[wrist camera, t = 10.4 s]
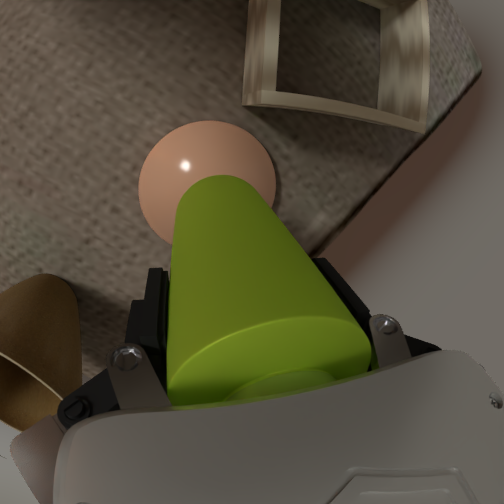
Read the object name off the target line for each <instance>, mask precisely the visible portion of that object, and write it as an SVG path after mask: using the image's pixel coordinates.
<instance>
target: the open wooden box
mask: <svg viewBox="0 0 504 504" xmlns="http://www.w3.org/2000/svg"><path fill="white" fill-rule="evenodd" d="M358 1H360V2H363V3H366V4H368V5H371V6H373V7H375V8H378V9H380V71H379V88H378V101H377V109H373V108H369V107H365V106H360V105H356V104H351V103H347V102H342V101H337V100H332V99H326V98H320V97H314V96H308V95H301V94H294V93H286V92H277V91H276V77H277V62H278V45H279V28H280V10H281V0H249V5H248V19H247V32H246V47H245V62H244V77H243V94H242V106H257V107H271V108H282V109H291V110H300V111H308V112H315V113H322V114H328V115H334V116H340V117H346V118H351V119H356V120H361V121H366V122H371V123H375V124H379V125H384V126H389V127H395V128H399V129H404V130H409V131H413V132H418V133H422V134H425V128H426V119H427V108H428V95H429V75H430V37H429V18H428V6H427V0H358Z"/></svg>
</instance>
